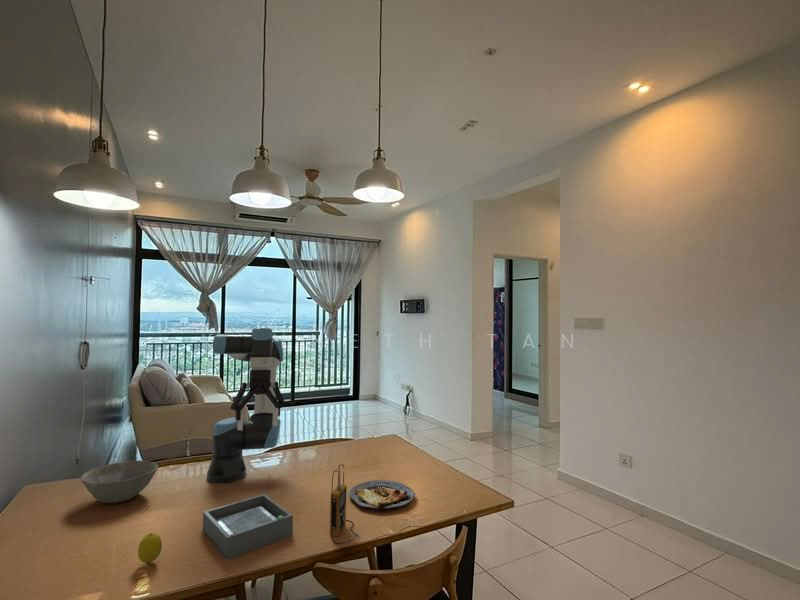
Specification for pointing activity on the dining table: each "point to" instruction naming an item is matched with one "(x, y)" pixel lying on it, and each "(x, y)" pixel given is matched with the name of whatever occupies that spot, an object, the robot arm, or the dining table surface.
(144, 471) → the ceramic bowl
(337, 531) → the multimeter
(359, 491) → the food plate
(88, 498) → the dining table surface
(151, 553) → the lemon
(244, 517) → the gray picture frame
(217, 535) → the gray open box
